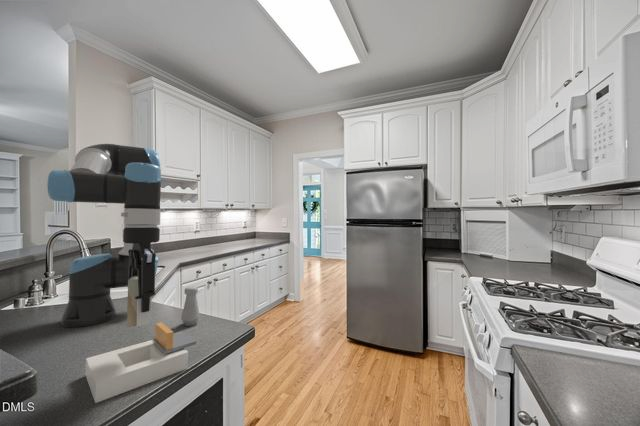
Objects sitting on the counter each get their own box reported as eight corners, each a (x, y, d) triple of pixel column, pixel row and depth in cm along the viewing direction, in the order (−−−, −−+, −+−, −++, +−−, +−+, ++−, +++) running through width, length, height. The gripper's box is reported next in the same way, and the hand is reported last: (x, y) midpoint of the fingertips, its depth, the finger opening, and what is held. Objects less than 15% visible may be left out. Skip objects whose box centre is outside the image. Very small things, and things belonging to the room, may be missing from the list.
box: (131, 320, 68) (132, 275, 68) (151, 318, 69) (152, 274, 70) (126, 327, 63) (127, 279, 63) (148, 324, 65) (149, 278, 65)
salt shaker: (192, 327, 93) (192, 289, 93) (177, 326, 94) (178, 288, 94) (202, 321, 99) (203, 285, 99) (188, 320, 100) (189, 284, 100)
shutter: (152, 342, 73) (153, 323, 73) (182, 333, 78) (182, 316, 78) (164, 354, 66) (165, 334, 66) (196, 344, 72) (196, 325, 72)
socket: (85, 375, 64) (86, 358, 64) (168, 349, 77) (168, 335, 78) (95, 403, 55) (95, 383, 55) (188, 368, 68) (188, 352, 68)
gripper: (115, 225, 71) (112, 315, 70) (134, 227, 58) (131, 337, 57) (148, 225, 76) (145, 308, 76) (172, 227, 63) (170, 327, 63)
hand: (139, 321), depth 66 cm, fingers closed on box, 6 cm apart
